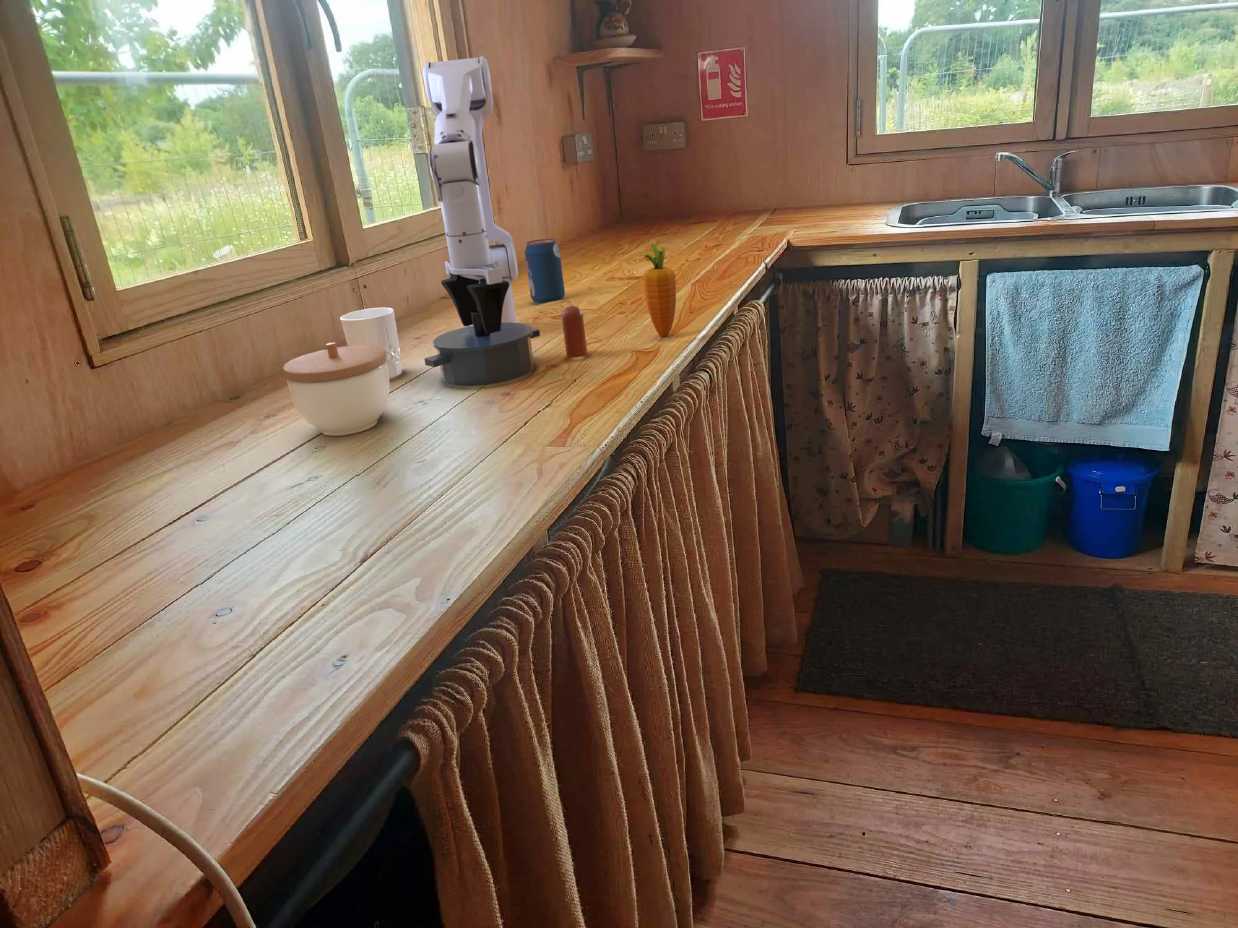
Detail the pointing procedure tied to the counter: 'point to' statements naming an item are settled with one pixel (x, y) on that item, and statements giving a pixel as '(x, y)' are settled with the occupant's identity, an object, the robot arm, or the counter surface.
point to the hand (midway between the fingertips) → (481, 328)
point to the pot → (485, 364)
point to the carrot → (660, 292)
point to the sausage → (574, 332)
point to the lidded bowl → (340, 387)
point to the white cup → (374, 333)
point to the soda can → (544, 271)
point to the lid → (481, 336)
